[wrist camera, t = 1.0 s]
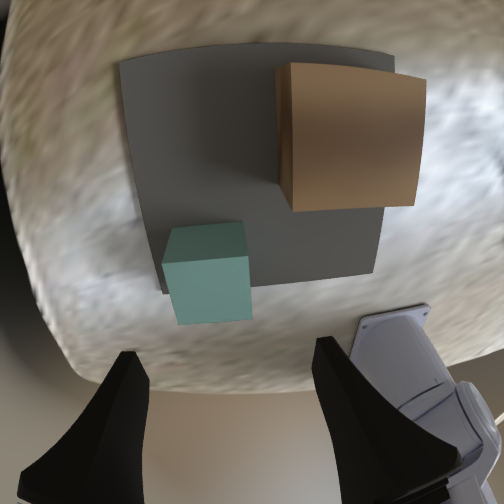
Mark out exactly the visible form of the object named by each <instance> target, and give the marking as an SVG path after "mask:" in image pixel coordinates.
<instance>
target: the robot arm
mask: <svg viewBox="0 0 504 504" xmlns="http://www.w3.org/2000/svg"><path fill="white" fill-rule="evenodd" d="M430 308H431V307H430V306H429V305H428V304H426V305H421V306H417V307H412V308H407V309H403V310H398V311H393V312H388V313H383V314H377V315H372V316H367V317H363V318H362V319H361V320H360V323H359V326H358V330H357V334H356V337H355V341H354V344H353V347H352V351H351V354H350V357H348V356H347V355H346V354H345V352H344V351H343V350H342V348H341V347H340V346H339V344H338V343H337V341H336V340H335V339H334V337H332V336H327V337H321V338H317V340H316V346H315V352H314V357H313V362H312V374H313V379H314V384H315V389H316V392H317V395H318V398H319V401H320V405H321V408H322V411H323V414H324V416H325V420H326V423H327V426H328V429H329V432H330V435H331V439H332V443H333V448H334V453H335V459H336V464H337V470H338V476H339V484H340V491H341V500H342V504H497V502H496V500H495V497H494V495H493V493H492V491H491V489H490V486H489V484H488V482H487V480H486V479H487V477H488V476H489V474H490V472H491V471H492V469H493V467H494V465H495V463H496V462H497V460H498V458H499V455H500V453H501V444H502V441H501V436H500V433H499V431H498V429H497V427H496V425H495V421H494V419H493V416H492V414H491V412H490V410H489V408H488V406H487V404H486V403H485V401H484V399H483V398H482V396H481V395H480V393H479V392H478V390H477V389H476V387H475V386H474V385H473V384H472V383H470V382H464V381H461V382H460V383H459V384H456V383H454V380H453V379H452V377H451V375H450V374H449V372H448V370H447V368H446V366H445V365H444V363H443V361H442V359H441V358H440V356H439V354H438V353H437V351H436V349H435V348H434V346H433V344H432V343H431V341H430V339H429V338H428V336H427V335H426V333H425V331H424V330H423V328H422V327H423V325H424V323H425V320H426V318H427V316H428V313H429V311H430ZM149 382H150V380H149V378H148V376H147V374H146V372H145V370H144V368H143V366H142V364H141V362H140V360H139V358H138V356H137V354H136V352H135V351H122V352H121V353H120V354H119V356H118V357H117V359H116V361H115V362H114V364H113V366H112V367H111V369H110V371H109V372H108V374H107V376H106V377H105V379H104V381H103V382H102V384H101V385H100V387H99V388H98V390H97V392H96V393H95V395H94V396H93V398H92V399H91V401H90V402H89V404H88V405H87V407H86V408H85V409H84V411H83V412H82V414H81V415H80V416H79V418H78V419H77V420H76V421H75V423H74V424H73V425H72V426H71V427H70V429H69V430H68V431H67V432H66V433H65V434H64V435H63V436H62V438H61V439H60V440H59V441H58V442H57V443H56V444H55V445H54V446H53V447H52V448H50V449H49V450H48V451H47V452H46V453H45V454H44V455H43V456H42V457H41V458H39V459H38V460H37V461H36V462H34V463H33V464H32V465H30V466H29V467H27V468H26V469H25V470H23V471H22V472H21V474H20V479H19V485H18V491H17V496H18V498H20V499H22V500H25V501H27V502H29V503H31V504H144V495H143V481H142V447H143V439H144V431H145V425H146V418H147V411H148V404H149ZM17 504H21V503H19V502H18V503H17Z"/></svg>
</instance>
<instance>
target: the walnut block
mask: <svg viewBox="0 0 504 504" xmlns="http://www.w3.org/2000/svg"><path fill="white" fill-rule="evenodd" d="M275 86H276V112H277V146H278V185H279V187H280V189H281V191H282V193H283V194H284V196H285V198H286V200H287V202H288V204H289V206H290V208H291V210H292V212H301V211H316V210H333V209H351V208H371V207H395V206H414V203H415V197H416V191H417V185H418V178H419V171H420V164H421V156H422V146H423V136H424V124H425V108H426V80H425V79H421V78H416V77H412V76H407V75H402V74H397V73H392V72H386V71H380V70H373V69H366V68H359V67H350V66H341V65H329V64H314V63H288V64H285V65H282V66H279V67H276V68H275Z"/></svg>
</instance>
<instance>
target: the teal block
mask: <svg viewBox="0 0 504 504" xmlns="http://www.w3.org/2000/svg"><path fill="white" fill-rule="evenodd" d="M162 267H163V271H164V275H165V279H166V283H167V286H168V290H169V294H170V297H171V301H172V304H173V308H174V311H175V315H176V318H177V321H178V325H185V324H200V323H214V322H226V321H237V320H248V319H252V305H251V290H250V275H249V260H248V251H247V245H246V238H245V231H244V225H243V221H241V222H230V223H219V224H209V225H198V226H188V227H179V228H172V230H171V233H170V237H169V240H168V243H167V247H166V250H165V254H164V257H163V261H162Z"/></svg>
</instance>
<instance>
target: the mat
mask: <svg viewBox="0 0 504 504" xmlns="http://www.w3.org/2000/svg"><path fill="white" fill-rule="evenodd" d="M288 63H314V64H329V65H341V66H350V67H359V68H366V69H373V70H380V71H386V72H392V73H395V64H394V56H393V55H388V54H383V53H377V52H371V51H365V50H359V49H352V48H344V47H335V46H324V45H311V44H291V43H251V44H230V45H217V46H207V47H198V48H190V49H182V50H176V51H170V52H164V53H158V54H153V55H148V56H143V57H138V58H134V59H130V60H126V61H121V62H119V69H120V80H121V90H122V99H123V107H124V115H125V122H126V129H127V136H128V142H129V149H130V155H131V160H132V166H133V172H134V177H135V182H136V187H137V192H138V197H139V202H140V206H141V211H142V216H143V220H144V224H145V229H146V233H147V237H148V241H149V245H150V249H151V253H152V257H153V261H154V264H155V268H156V272H157V275H158V279H159V282H160V286H161V289H162V293H163V294H169V290H168V286H167V283H166V279H165V275H164V271H163V267H162V261H163V257H164V254H165V250H166V247H167V243H168V240H169V237H170V233H171V230H172V228H179V227H188V226H198V225H209V224H219V223H230V222H241V221H243V225H244V231H245V238H246V245H247V251H248V260H249V275H250V287H256V286H267V285H276V284H286V283H295V282H304V281H313V280H322V279H330V278H338V277H347V276H354V275H362V274H370V273H373V269H374V264H375V259H376V254H377V249H378V244H379V238H380V233H381V227H382V221H383V215H384V208H385V207H371V208H351V209H333V210H316V211H301V212H292V210H291V208H290V206H289V204H288V202H287V200H286V198H285V196H284V194H283V193H282V191H281V189H280V187H279V185H278V146H277V112H276V86H275V68H276V67H279V66H282V65H285V64H288Z"/></svg>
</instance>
